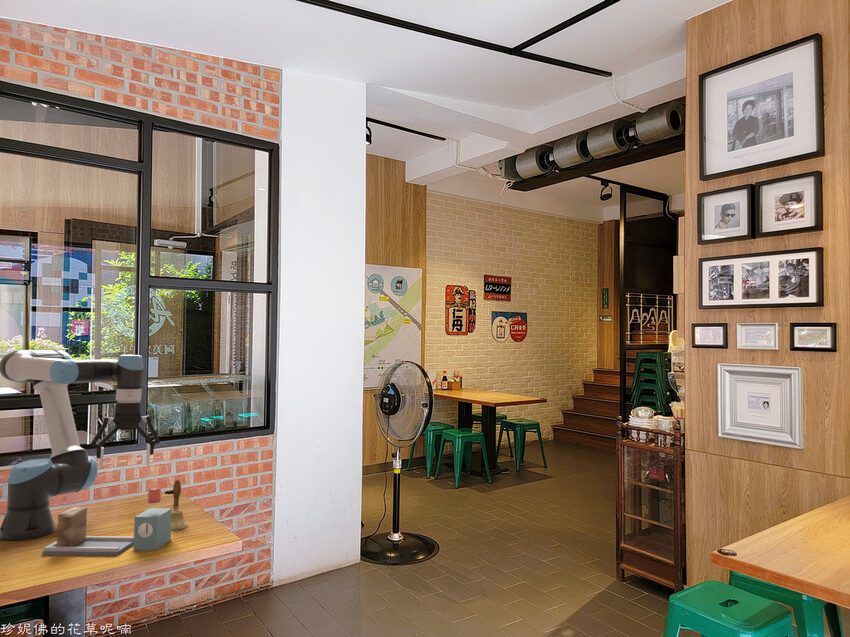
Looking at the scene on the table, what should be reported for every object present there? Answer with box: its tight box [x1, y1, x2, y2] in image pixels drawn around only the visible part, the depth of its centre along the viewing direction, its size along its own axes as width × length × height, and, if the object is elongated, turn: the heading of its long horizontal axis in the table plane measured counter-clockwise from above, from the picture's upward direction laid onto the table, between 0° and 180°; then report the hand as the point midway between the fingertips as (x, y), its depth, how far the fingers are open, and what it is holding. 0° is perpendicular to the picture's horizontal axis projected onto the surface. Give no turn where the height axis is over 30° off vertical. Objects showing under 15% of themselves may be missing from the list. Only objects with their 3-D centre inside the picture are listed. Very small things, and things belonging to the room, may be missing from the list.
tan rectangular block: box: [56, 506, 88, 547], centre depth 178 cm, size 4×8×10 cm, turn 0°
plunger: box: [147, 487, 162, 504], centre depth 182 cm, size 4×4×4 cm
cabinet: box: [133, 507, 173, 551], centre depth 181 cm, size 7×11×10 cm, turn 0°
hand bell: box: [171, 479, 189, 531], centre depth 201 cm, size 8×8×16 cm
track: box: [41, 535, 134, 557], centre depth 177 cm, size 22×12×2 cm, turn 90°
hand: (124, 466), depth 190 cm, fingers open, 13 cm apart
